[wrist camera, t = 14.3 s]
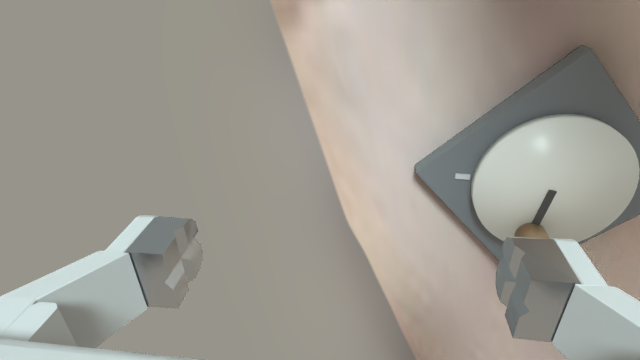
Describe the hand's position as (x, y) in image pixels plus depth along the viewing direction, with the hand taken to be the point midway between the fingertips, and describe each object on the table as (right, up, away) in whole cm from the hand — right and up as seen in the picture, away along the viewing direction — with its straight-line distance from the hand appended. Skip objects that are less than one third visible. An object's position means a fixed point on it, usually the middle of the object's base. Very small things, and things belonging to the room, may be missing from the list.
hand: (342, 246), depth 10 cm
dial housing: (+25, +3, +34) cm, 42 cm away
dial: (+24, +1, +32) cm, 41 cm away
